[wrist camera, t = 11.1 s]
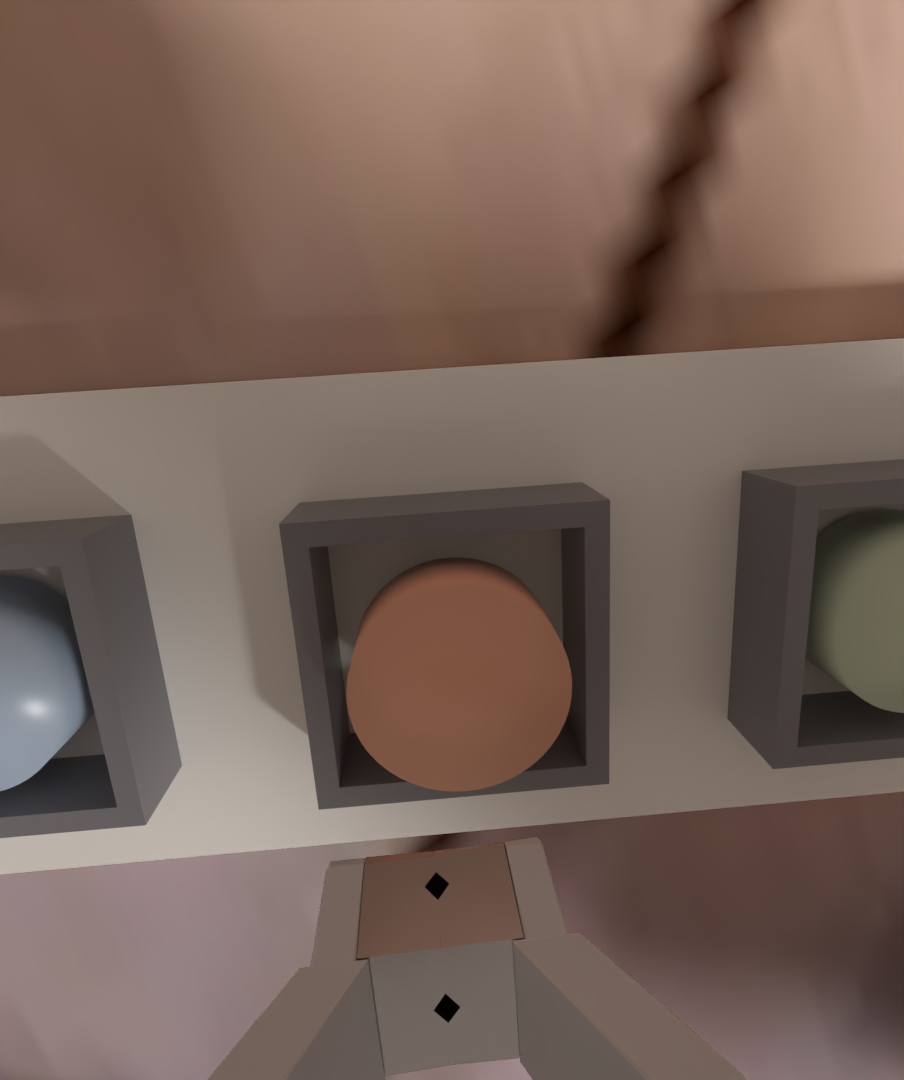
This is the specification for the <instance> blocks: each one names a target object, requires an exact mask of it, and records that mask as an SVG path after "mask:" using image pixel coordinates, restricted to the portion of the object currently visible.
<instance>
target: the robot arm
mask: <svg viewBox="0 0 904 1080" xmlns="http://www.w3.org/2000/svg"><path fill="white" fill-rule="evenodd" d="M515 1058H520V1062H521V1063H522V1065H523V1066H524V1068H525V1069H526V1070H527V1072H528V1073H529V1075H530V1076H531V1077H532V1079H533V1080H746V1079H745V1077H744V1075H743V1074H742V1073H740V1072H739V1071H738V1070H737V1069H736V1068H735V1067H734V1066H732V1065H731V1064H730V1063H729V1062H728V1061H727V1060H726V1059H724V1058H723V1057H722V1056H721V1055H720V1054H719V1053H718V1052H716V1051H715V1050H714V1049H713V1048H712V1047H711V1046H709V1045H708V1044H707V1043H706V1042H705V1041H704V1040H703V1039H701V1038H700V1037H699V1036H698V1035H697V1034H696V1033H695V1032H693V1031H692V1030H691V1029H690V1028H689V1027H688V1026H686V1025H685V1024H684V1023H683V1022H682V1021H681V1020H680V1019H678V1018H677V1017H676V1016H675V1015H674V1014H673V1013H672V1012H670V1011H669V1010H668V1009H667V1008H666V1007H665V1006H663V1005H662V1004H661V1003H660V1002H659V1001H658V1000H657V999H655V998H654V997H653V996H652V995H651V994H650V993H649V992H647V991H646V990H645V989H644V988H643V987H642V986H640V985H639V984H638V983H637V982H636V981H635V980H634V979H632V978H631V977H630V976H629V975H628V974H627V973H626V972H624V971H623V970H622V969H621V968H620V967H619V966H617V965H616V964H615V963H614V962H613V961H612V960H611V959H609V958H608V957H607V956H606V955H605V954H604V953H603V952H601V951H600V950H599V949H598V948H597V947H596V946H595V945H593V944H592V943H591V942H590V941H589V940H588V939H586V938H585V937H584V936H583V935H582V934H581V933H573V934H569V933H568V930H567V926H566V923H565V920H564V916H563V913H562V909H561V906H560V903H559V899H558V896H557V893H556V889H555V886H554V883H553V879H552V876H551V872H550V869H549V866H548V862H547V859H546V856H545V852H544V849H543V846H542V842H541V841H540V840H539V838H538V837H533V838H526V839H519V840H512V841H505V842H504V844H503V843H494V844H486V845H478V846H470V847H462V848H454V849H446V850H438V851H429V852H419V853H408V854H397V855H386V856H375V857H366V859H364V858H362V859H351V860H340V861H330V863H329V866H328V868H327V870H326V874H325V880H324V887H323V893H322V899H321V905H320V911H319V917H318V923H317V929H316V935H315V941H314V948H313V954H312V960H311V966H310V967H304V968H299V969H298V970H297V971H296V972H295V974H294V975H293V976H292V977H291V978H290V980H289V981H288V982H287V983H286V985H285V986H284V987H283V988H282V989H281V991H280V992H279V993H278V994H277V995H276V997H275V998H274V999H273V1000H272V1002H271V1003H270V1004H269V1005H268V1006H267V1008H266V1009H265V1010H264V1011H263V1013H262V1014H261V1015H260V1016H259V1017H258V1019H257V1020H256V1021H255V1022H254V1024H253V1025H252V1026H251V1027H250V1028H249V1030H248V1031H247V1032H246V1033H245V1034H244V1036H243V1037H242V1038H241V1039H240V1041H239V1042H238V1043H237V1044H236V1045H235V1047H234V1048H233V1049H232V1050H231V1052H230V1053H229V1054H228V1055H227V1056H226V1058H225V1059H224V1060H223V1061H222V1063H221V1064H220V1065H219V1066H218V1067H217V1069H216V1070H215V1071H214V1072H213V1074H212V1075H211V1076H210V1077H209V1078H208V1080H385V1077H384V1076H390V1075H396V1074H402V1073H408V1072H413V1071H419V1070H425V1069H431V1068H437V1067H443V1066H449V1065H456V1064H466V1063H476V1062H486V1061H495V1060H505V1059H515ZM452 1061H453V1064H452Z"/></svg>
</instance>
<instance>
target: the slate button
mask: <svg viewBox="0 0 904 1080" xmlns="http://www.w3.org/2000/svg"><path fill="white" fill-rule="evenodd" d="M93 714H94V708H93V703H92V699H91V695H90V691H89V687H88V682H87V678H86V674H85V670H84V666H83V661H82V657H81V653H80V649H79V645H78V640H77V636H76V632H75V628H74V624H73V619H72V615H71V611H70V607H69V602H68V600H67V599H66V598H64V597H63V596H61V595H60V594H58V593H56V592H55V591H53V590H51V589H49V588H47V587H45V586H43V585H40V584H38V583H35V582H32V581H29V580H25V579H20V578H16V577H8V576H0V791H3V790H7V789H9V788H11V787H14V786H16V785H19V784H20V783H22V782H24V781H26V780H27V779H29V778H30V777H32V776H33V775H34V774H36V773H37V772H38V771H39V770H40V769H41V768H42V767H43V766H44V765H45V764H46V763H47V762H48V761H49V760H50V759H51V758H52V757H53V756H54V755H55V754H56V753H57V751H58V750H59V749H60V748H61V747H62V746H63V745H64V744H65V743H66V742H67V741H68V740H69V739H70V738H71V737H72V736H73V735H74V734H75V733H76V732H77V731H78V730H79V729H80V728H81V727H82V726H83V725H84V724H85V722H86V721H87V720H88V719H89V718H90V717H91V716H92V715H93Z"/></svg>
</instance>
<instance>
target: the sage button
mask: <svg viewBox="0 0 904 1080" xmlns="http://www.w3.org/2000/svg"><path fill="white" fill-rule="evenodd" d="M805 658H807V659H808V660H809V661H810V662H812V663H813V664H814V665H816V666H817V667H819V668H820V669H821V670H823V671H824V672H825V673H827V674H828V675H830V676H831V677H832V678H834V679H835V680H837V681H838V682H839V683H841V684H842V685H843V686H845V687H846V688H848V689H849V690H850V691H852V692H853V693H855V694H856V695H857V696H859V697H860V698H861V699H863V700H864V701H866V702H868V703H870V704H871V705H873V706H876V707H878V708H881V709H883V710H888V711H892V712H899V713H904V511H901V510H893V509H878V510H871V511H866V512H862V513H858V514H855V515H852V516H850V517H847V518H845V519H843V520H841V521H839V522H838V523H836V524H834V525H832V526H831V527H830V528H828V529H827V530H825V531H824V532H823V533H821V534H820V535H819V536H818V537H817V538H816V549H815V560H814V571H813V581H812V592H811V603H810V614H809V625H808V635H807V646H806V657H805Z"/></svg>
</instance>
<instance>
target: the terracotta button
mask: <svg viewBox="0 0 904 1080" xmlns="http://www.w3.org/2000/svg"><path fill="white" fill-rule="evenodd" d="M346 695H347V707H348V712H349V717H350V720H351V723H352V725H353V728H354V731H355V732H356V734H357V736H358V738H359V740H360V742H361V743H362V745H363V746H364V747H365V749H366V750H367V752H368V753H369V754H370V755H371V756H372V757H373V758H374V759H375V760H376V761H377V762H378V763H379V764H380V765H381V766H383V767H384V768H385V769H386V770H388V771H389V772H391V773H392V774H394V775H396V776H397V777H399V778H401V779H403V780H405V781H407V782H410V783H412V784H415V785H418V786H421V787H424V788H429V789H434V790H439V791H451V792H457V791H471V790H478V789H483V788H487V787H491V786H494V785H497V784H500V783H502V782H505V781H507V780H509V779H511V778H513V777H515V776H517V775H519V774H520V773H522V772H523V771H525V770H526V769H528V768H529V767H531V766H532V765H533V764H534V763H535V762H536V761H538V760H539V759H540V758H541V757H542V756H543V755H544V754H545V753H546V751H547V750H548V749H549V748H550V747H551V746H552V744H553V743H554V741H555V740H556V738H557V737H558V735H559V733H560V731H561V729H562V727H563V725H564V723H565V721H566V718H567V715H568V712H569V708H570V703H571V698H572V676H571V669H570V665H569V660H568V657H567V654H566V652H565V649H564V647H563V645H562V643H561V641H560V639H559V637H558V635H557V634H556V632H555V630H554V628H553V626H552V624H551V623H550V621H549V619H548V617H547V615H546V613H545V611H544V610H543V608H542V606H541V604H540V603H539V601H538V599H537V598H536V596H535V595H534V594H533V593H532V591H531V590H530V589H529V588H528V587H527V586H526V585H525V584H524V583H523V582H522V581H521V580H520V579H518V578H517V577H516V576H514V575H513V574H512V573H510V572H508V571H506V570H504V569H503V568H501V567H499V566H496V565H494V564H491V563H488V562H485V561H481V560H477V559H470V558H462V557H461V558H442V559H435V560H431V561H428V562H424V563H421V564H419V565H416V566H414V567H411V568H409V569H407V570H406V571H404V572H402V573H400V574H399V575H397V576H396V577H395V578H393V579H392V580H391V581H389V582H388V583H387V584H386V585H385V586H384V587H383V588H382V589H381V590H380V591H379V592H378V593H377V595H376V596H375V597H374V598H373V600H372V601H371V603H370V604H369V606H368V608H367V609H366V611H365V613H364V616H363V618H362V621H361V623H360V627H359V631H358V635H357V639H356V643H355V647H354V652H353V656H352V660H351V664H350V668H349V673H348V678H347V687H346Z"/></svg>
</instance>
